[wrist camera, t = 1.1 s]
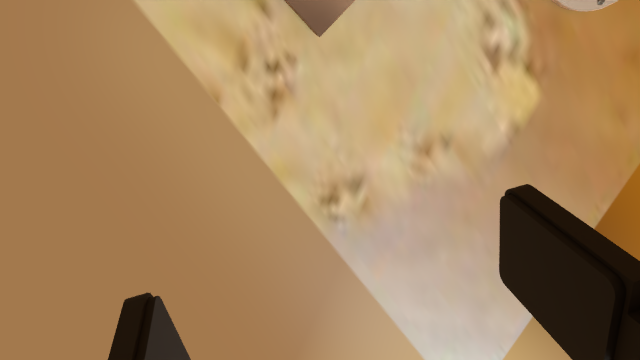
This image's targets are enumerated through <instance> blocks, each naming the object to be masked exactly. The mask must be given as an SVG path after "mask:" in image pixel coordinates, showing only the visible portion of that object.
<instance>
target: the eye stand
mask: <svg viewBox="0 0 640 360" xmlns="http://www.w3.org/2000/svg"><path fill="white" fill-rule="evenodd" d="M285 1H286V2H287V4H288V5H289V6H290V7H291V8H292V9H293V10H294V11H295V12H296V13H297V14H298V16H299V17H300V18H301V19H302V20H303V21H304V22H305V23H306V24H307V25H308V27H309V28H310V29H311V30H312V31H313V32H314V33H315V34H316V35H317V36H319V37H320V36H321V35H322V34H323V33H324V32H325V31H326V30H327V29H328V28H329V27H330V26H331V25H332V24H333V23H334V22H335V21H336V20H337V19H338V18H339V16H340V15H341V14H342V13H343V12H344V11H345V10H346V9H347V8H348V7H349V6H350V5H351V4H352V3H353V2H354V1H355V0H285Z"/></svg>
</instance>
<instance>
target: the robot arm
mask: <svg viewBox="0 0 640 360" xmlns="http://www.w3.org/2000/svg"><path fill="white" fill-rule="evenodd" d="M552 1H553V2H555V3H556V4H557V5H559V6H561V7H563V8H566V9H569V10H575V11H594V10H599V9H602V8H604V7H607V6H609V5H611V4H613V3H615V2H616V1H618V0H552ZM499 272H500V277H501V279H502V281H503V283H504V284H505V286H506V287H507V288H508V289H509V290H510V291H511V292H512V293H513V294H514V296H515V297H516V298H517V299H518V300H519V301H520V302H521V303H522V304H523V305H524V307H525V308H526V309H527V310H528V311H529V312H530V313H531V314H532V315H533V317H534V318H535V319H536V320H537V321H538V322H539V323H540V324H541V325H542V327H543V328H544V329H545V330H546V331H547V332H548V333H549V334H550V335H551V336H552V338H553V339H554V340H555V341H556V342H557V343H558V344H559V345H560V346H561V347H562V349H563V350H564V351H565V352H566V353H567V354H568V355H569V356H570V358H571V359H572V360H640V261H638V260H637V259H636V258H634V257H633V256H631V255H630V254H628V253H627V252H626V251H624V250H623V249H621V248H620V247H619V246H617V245H616V244H614V243H613V242H611V241H610V240H609V239H607V238H606V237H604V236H603V235H601V234H600V233H599V232H597V231H596V230H594V229H593V228H591V227H590V226H589V225H587V224H586V223H584V222H583V221H581V220H580V219H579V218H577V217H576V216H574V215H573V214H571V213H570V212H569V211H567V210H566V209H564V208H563V207H561V206H560V205H558V204H557V203H556V202H554V201H553V200H551V199H550V198H548V197H547V196H546V195H544V194H543V193H541V192H540V191H538V190H537V189H536V188H534V187H533V186H531V185H529V184H525V185H522V186H518V187H515V188H511V189H508V190H507V191H506V192H505V196H503V197H501V199H500V258H499ZM108 360H191V359H190V357H189V355H188V353H187V351H186V349H185V347H184V345H183V343H182V341H181V339H180V337H179V334H178V332H177V330H176V328H175V326H174V324H173V322H172V320H171V318H170V316H169V314H168V312H167V310H166V308H165V306H164V304H163V301H162V299H161V298H160V297H159V296H155V297H153V296H152V295H151V294H150V293H145V294H142V295H138V296H135V297H131V298H128V299H126V300H125V301H124V303H123V307H122V310H121V314H120V318H119V321H118V325H117V329H116V333H115V336H114V339H113V343H112V347H111V351H110V354H109V358H108Z"/></svg>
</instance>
